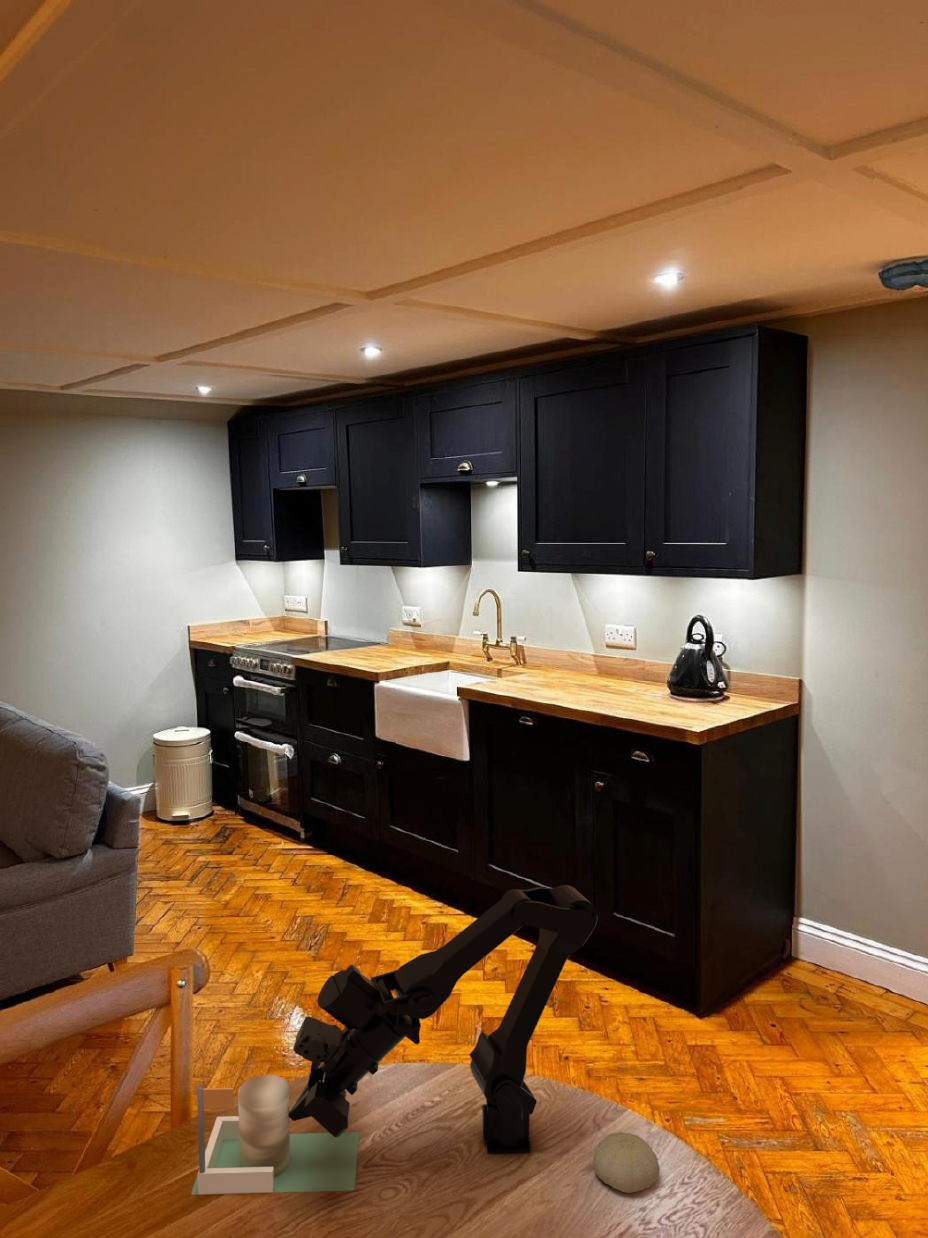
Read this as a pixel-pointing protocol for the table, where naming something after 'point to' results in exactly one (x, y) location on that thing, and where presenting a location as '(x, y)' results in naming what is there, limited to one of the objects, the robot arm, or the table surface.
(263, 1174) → the white frame
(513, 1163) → the table surface
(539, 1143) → the table surface
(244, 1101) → the birch cylinder
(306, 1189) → the putting mat
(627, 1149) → the sea urchin shell
